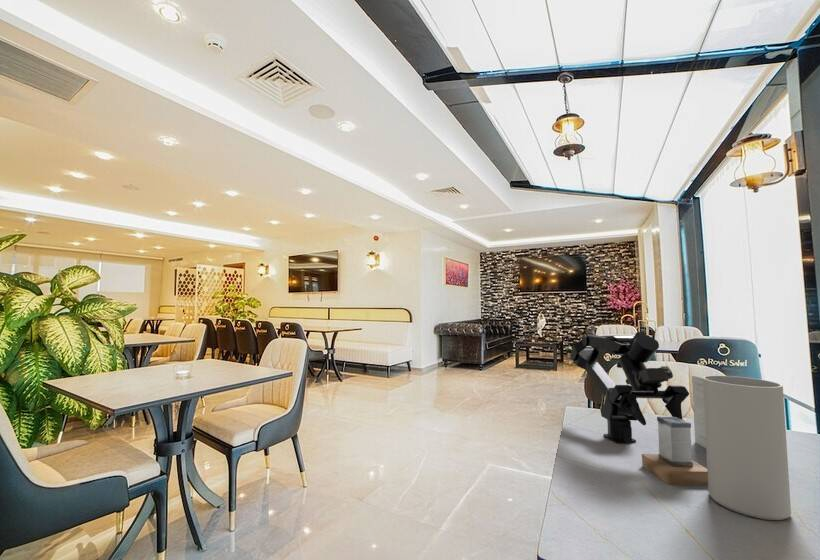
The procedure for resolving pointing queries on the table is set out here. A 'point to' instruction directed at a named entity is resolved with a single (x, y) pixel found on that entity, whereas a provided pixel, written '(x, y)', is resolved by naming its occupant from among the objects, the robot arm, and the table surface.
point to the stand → (675, 471)
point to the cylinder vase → (747, 446)
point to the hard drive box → (699, 410)
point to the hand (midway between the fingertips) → (663, 424)
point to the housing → (675, 441)
